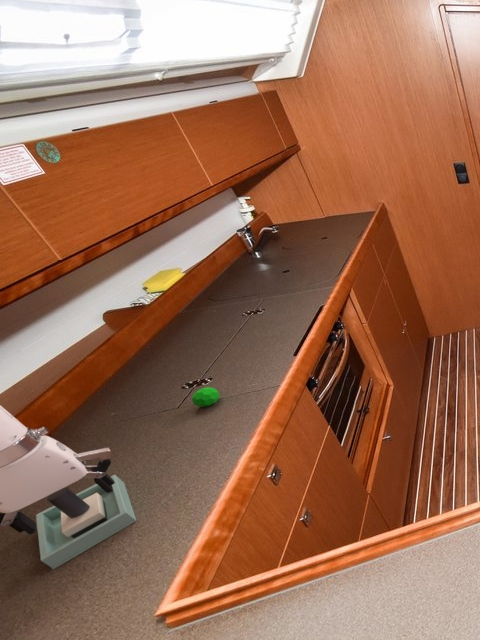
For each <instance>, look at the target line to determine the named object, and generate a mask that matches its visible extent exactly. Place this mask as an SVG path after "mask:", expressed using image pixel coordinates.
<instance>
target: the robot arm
mask: <svg viewBox="0 0 480 640" xmlns="http://www.w3.org/2000/svg"><path fill="white" fill-rule="evenodd" d="M49 433H50V429H48V428H47V427H46V426H42V427H40V428H35V429H34V428H30V427H28V426H27V427H26V426H25V425H24V424H23V423H22V422H20V421H19V419H17V418H16V417H14V415H13V414H11V413H10V412H9V411H8V410H7V409H5V407H3V406H2V405H1V404H0V526H2V527H6V526H7V527H8V526H9V527H11V528H12V529H14V530H15V531H16V532H18V533H20V534H21V533H22V532H23V533H24V532H25V533H27V534H28V535H33V534H35V533H36V532H37V522H36V521H35V520H33V519H32V518H31V517H29V516H28V515H26V514H25V513H24V512H22V511H19V510H22V509H24V508H26V507H28V506H30V505H32V504H34V503H36V502H39V501H41V500H42V499H44V498H47V497H48V496H49V495H50V494H52V493H54V492H56V491H58V490H60V489H62V488H67V487H68V486H70V485H73V484H74V483H76V482H78V481H80V480H82V479H85V480H87V479H93V480H94V483H95V484H97V485H99V486H100V487H101V488H102V489H103V490H104V491H106V492H107V493H108V492H109V493H110V492H112V491H113V488H112V484H114V483H115V482H114V480H113V479H112V478H111V476H110V475H109V474H108V473H107V471H108V469H109V467H110V466H111V464H112V453H113V452H112V449H111V447H104V448H99V449H94V450H89V451H84V452H79V453H77V452H75V451H74V450H73V449H71V448H70V447H68V446H67V445H65V444H63V443H62V442H60V441H59V440H57V439H55V438H53V437H51V436H48V435H46V434H49ZM96 459H99V461H98V463H97V464H96V465H87V461H90V460H96Z"/></svg>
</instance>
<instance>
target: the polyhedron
mask: <svg viewBox="0 0 480 640" xmlns="http://www.w3.org/2000/svg"><path fill="white" fill-rule="evenodd" d="M219 398H220V392H219V391H218V389H216V388H214V387H208V386H207V387H202V388H200V389H197V390H196V391H195V392H194V393H193V394H192V397H191V401H192V403H193V404H194V405H195V406H197V407H200V408H206V407H207V408H208V407H209V406H212V405H214V404H215V403H217V401H218V400H220V399H219Z"/></svg>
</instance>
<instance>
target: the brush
mask: <svg viewBox="0 0 480 640" xmlns="http://www.w3.org/2000/svg"><path fill="white" fill-rule="evenodd" d="M76 494H77V493H75V492H73V491H72V490H71V489H70V488H69V487H64V488H62V489H60V490H58V491H56V492H54V493H52V494H50V495H48V496H46V501H47V502H48V503H50V504H51V505H53V506H55V507H57V508H58V509H59V510H60V511H61V527H62V533H63V534H64V535H66V536H67V537H69V536H71V537H72V538H76V537H78V536H80V535H82V534H83V533H85V532H87V531H89V530H91V529H92V528H94V527H96V526H98V525H100V524H102V523H103V522H105V521H107V520H108V519H107V513H106V506H105V502H104V501H103V499H102V496H100V495H99V494H98V493H95V494H93V495H91V496H89V497H87V498H85V499H83V500H82V499H81V498H79V497H78V496H77V495H76Z"/></svg>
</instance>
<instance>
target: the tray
mask: <svg viewBox="0 0 480 640" xmlns="http://www.w3.org/2000/svg"><path fill="white" fill-rule="evenodd" d="M110 477H111V478H112V479H113V480H114V482H115V483H114V484H112V488H113V491H112V492H110V493H109V492H108V493H107V492H106V491H104V490H103V489H102V488H101V487H100V486H99V485H97V484H96V483H95V484H93V485H92V486H90V487H88V488H86V489H83V490H82V491H80V492H78V493H75V494H76V495H77V496H78V497H79V498H81V499H82V500H83V499H85V498H87V497H89V496H91V495H93V494H95V493H98V494H99V495H100V496H102V499H103V501H104V502H105V506H106V513H107V519H108V520H107V521H105V522H103V523H102V524H100V525H98V526H96V527H94V528H92V529H91V530H89V531H87V532H85V533H83V534H82V535H80V536H78V537H76V538H72V537H71V536H69V537H67V536H66V535H64V534H63V533H62V527H61V511H60V510H59V509H58V508H57V507H55V506H54V505H53V506H51V507H48V508H47V509H44V510H43V511H40V512H39V513H36V514H35V519H36V531H37V537H38V547H39V556H40V562H42V563H43V564H45V565H46V566H47V567H49V568H51V569H52V570H55V569H57V568H58V567H60V566H62V565H64V564H65V563H67V562H68V561H70V560H72V559H73V558H75V557H77V556H79V555H81V554H83V553H84V552H86V551H87V550H89V549H90V548H92V547H94V546H96V545H97V544H99V543H102V542H103V541H104V540H106V539H108V538H110V537H111V536H113V535H115V534H117V533H118V532H120V531H122V530H123V529H125V528H127V527H128V526H130V525H132V524H134V523H135V522H137V518H136V515H135V511H134V508H133V505H132V503H131V499H130V497H129V494H128V490H127V486H126V484H125V482H124V481H123V480H122V479H121V478H120V477H118V476H117V475H116V474H113V475H111V476H110Z"/></svg>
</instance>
